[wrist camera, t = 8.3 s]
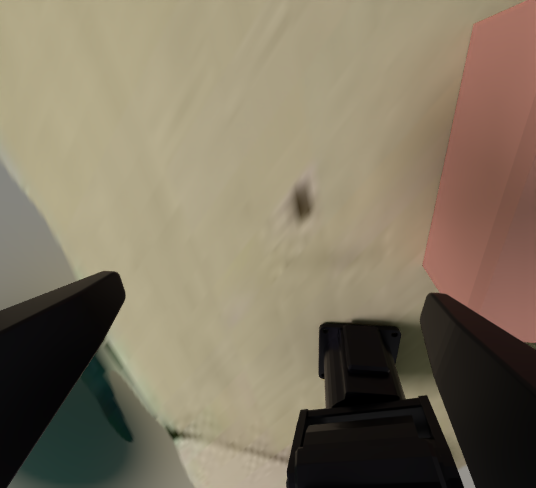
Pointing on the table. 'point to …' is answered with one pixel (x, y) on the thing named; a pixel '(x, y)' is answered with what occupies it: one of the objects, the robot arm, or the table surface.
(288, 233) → the table surface
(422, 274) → the table surface
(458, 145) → the coin box
